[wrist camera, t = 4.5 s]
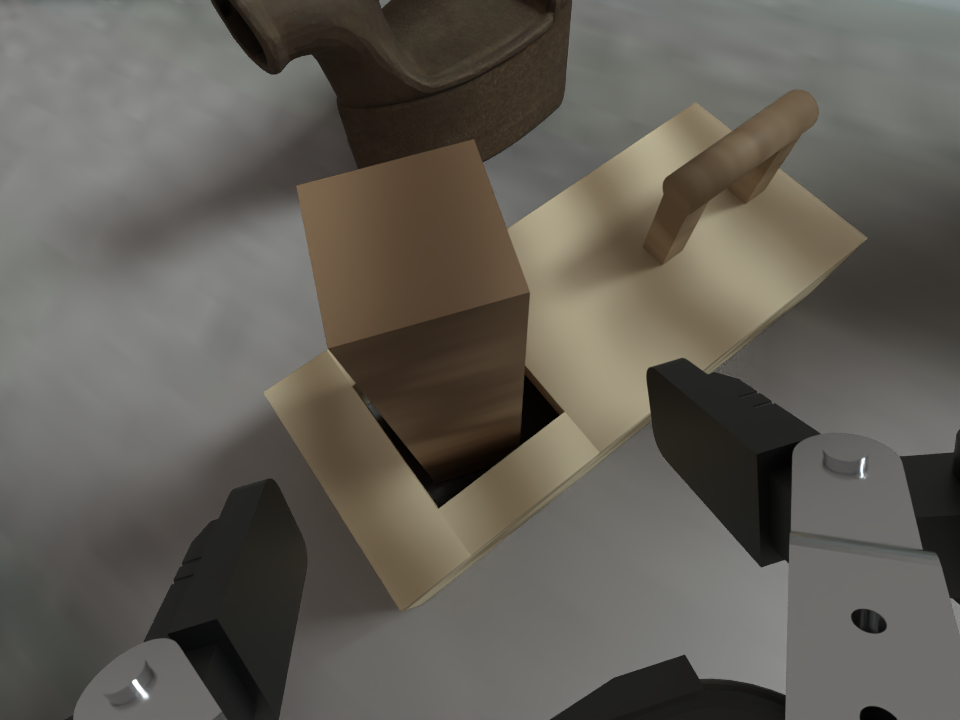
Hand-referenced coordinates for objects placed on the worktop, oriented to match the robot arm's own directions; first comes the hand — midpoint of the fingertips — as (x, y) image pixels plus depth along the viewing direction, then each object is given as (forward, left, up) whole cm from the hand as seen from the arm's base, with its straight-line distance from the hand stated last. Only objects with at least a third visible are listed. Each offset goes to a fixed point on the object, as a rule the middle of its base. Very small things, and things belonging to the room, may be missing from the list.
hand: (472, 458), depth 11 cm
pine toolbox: (-8, -4, -14) cm, 16 cm away
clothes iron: (-11, -20, -14) cm, 27 cm away
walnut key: (-2, -4, -14) cm, 15 cm away
